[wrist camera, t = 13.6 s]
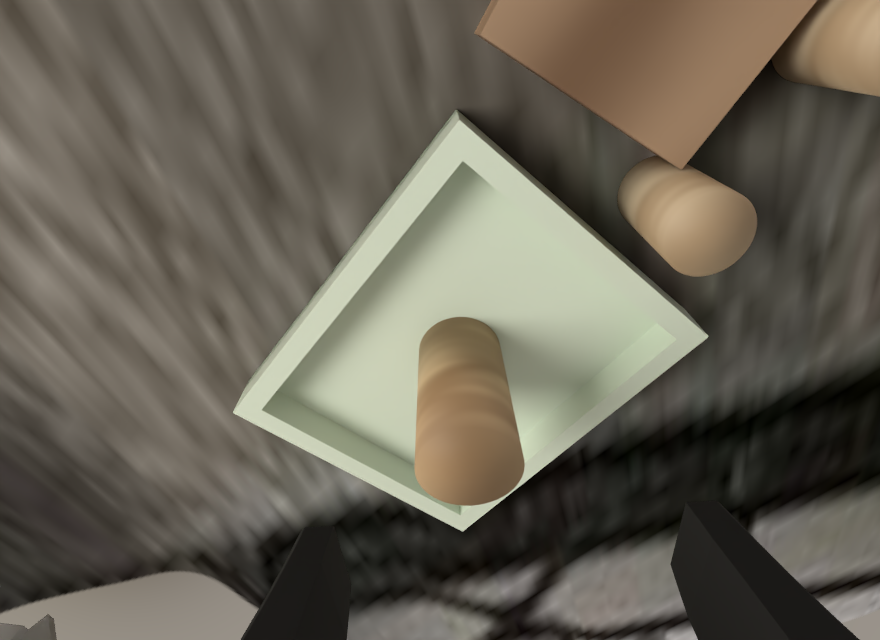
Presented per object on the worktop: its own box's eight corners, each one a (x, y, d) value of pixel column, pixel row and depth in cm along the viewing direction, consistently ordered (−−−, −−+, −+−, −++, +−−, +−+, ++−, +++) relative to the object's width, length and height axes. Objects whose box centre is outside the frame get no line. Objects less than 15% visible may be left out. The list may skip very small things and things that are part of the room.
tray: (684, 308, 20) (708, 336, 18) (460, 496, 25) (462, 531, 23) (456, 109, 16) (459, 119, 14) (248, 381, 21) (232, 412, 19)
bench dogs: (875, 28, 15) (1010, 30, 11) (648, 240, 18) (699, 291, 15) (832, -37, 14) (963, -56, 11) (602, 198, 17) (644, 242, 14)
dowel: (493, 309, 19) (517, 419, 14) (505, 376, 20) (530, 497, 15) (410, 325, 19) (402, 437, 14) (428, 390, 21) (427, 512, 16)
